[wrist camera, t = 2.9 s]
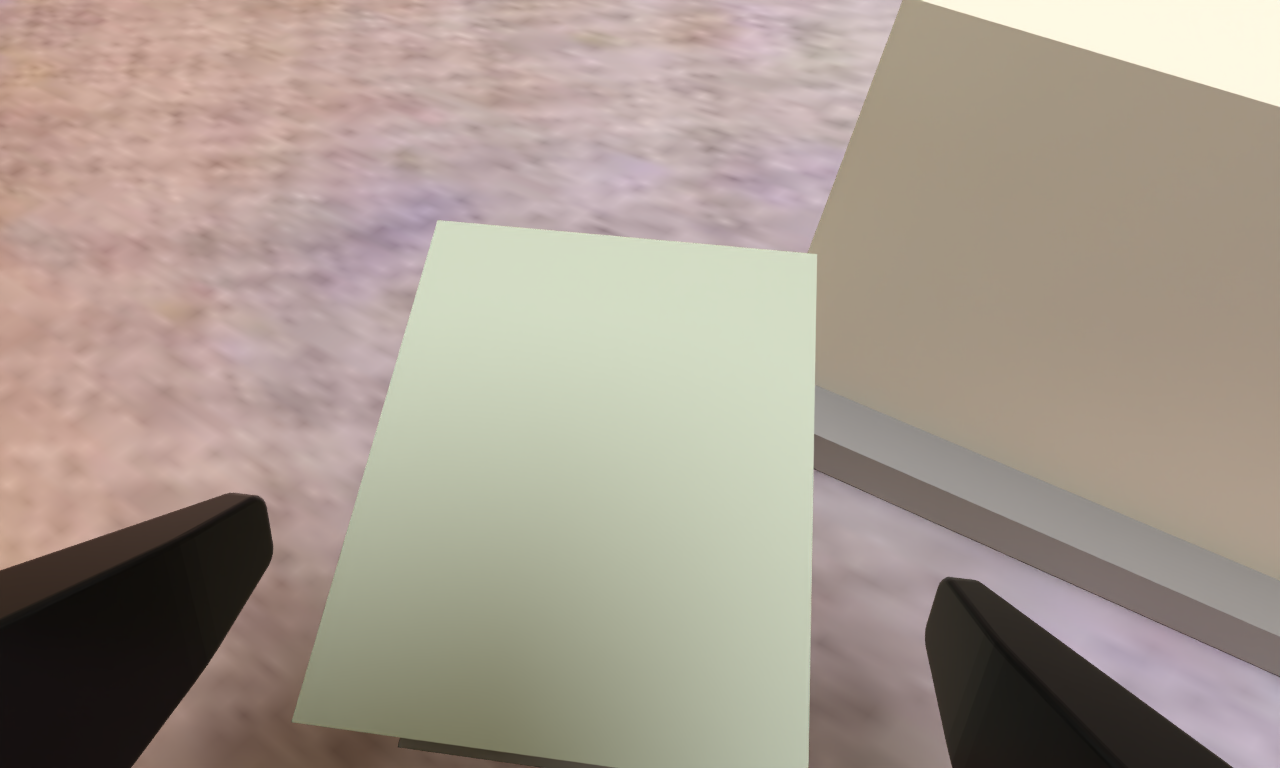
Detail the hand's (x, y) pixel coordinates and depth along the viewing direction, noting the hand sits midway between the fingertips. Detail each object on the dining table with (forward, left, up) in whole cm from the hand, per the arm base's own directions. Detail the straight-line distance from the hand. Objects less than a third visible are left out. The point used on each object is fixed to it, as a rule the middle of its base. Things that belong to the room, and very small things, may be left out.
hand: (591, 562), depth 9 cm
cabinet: (0, 0, -8) cm, 8 cm away
